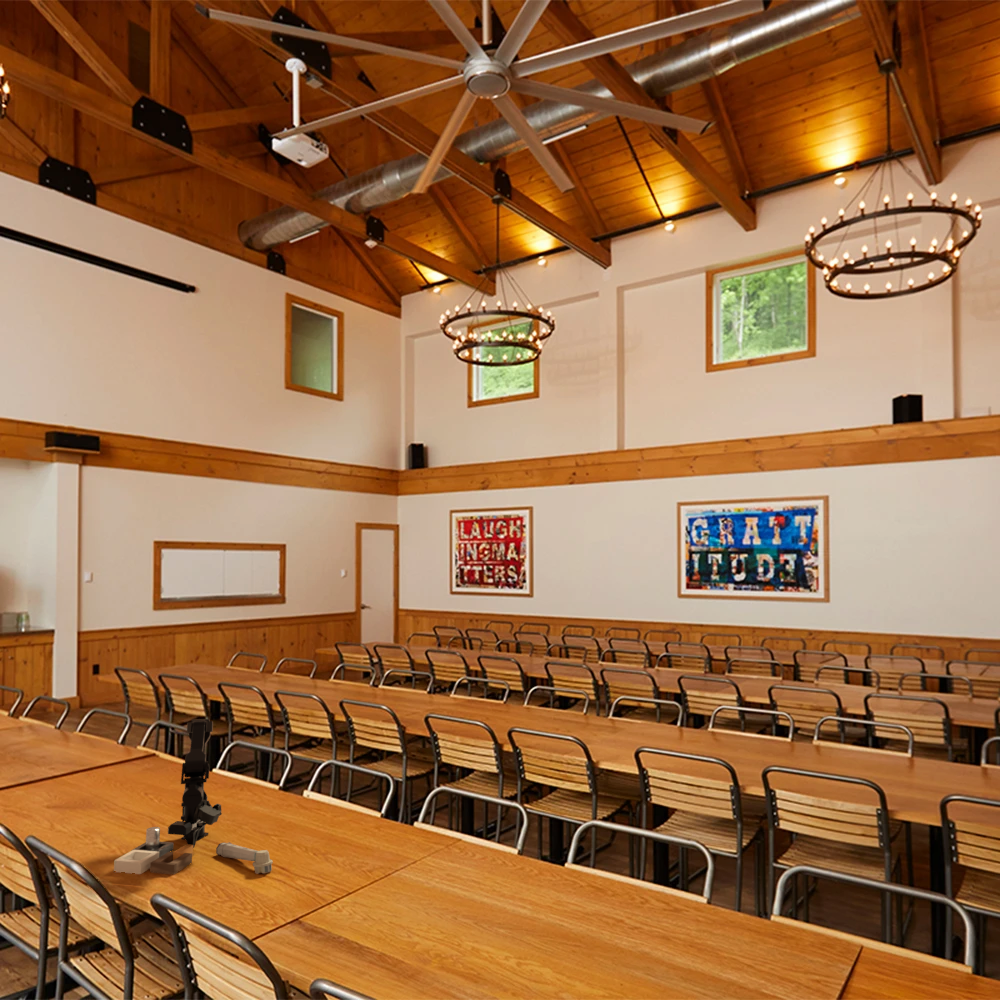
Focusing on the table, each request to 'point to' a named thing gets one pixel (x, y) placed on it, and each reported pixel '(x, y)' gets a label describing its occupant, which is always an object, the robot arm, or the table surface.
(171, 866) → the key guide
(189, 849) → the block
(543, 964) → the table surface
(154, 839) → the peg
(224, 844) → the grey handle with block
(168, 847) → the socket block
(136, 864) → the frame
